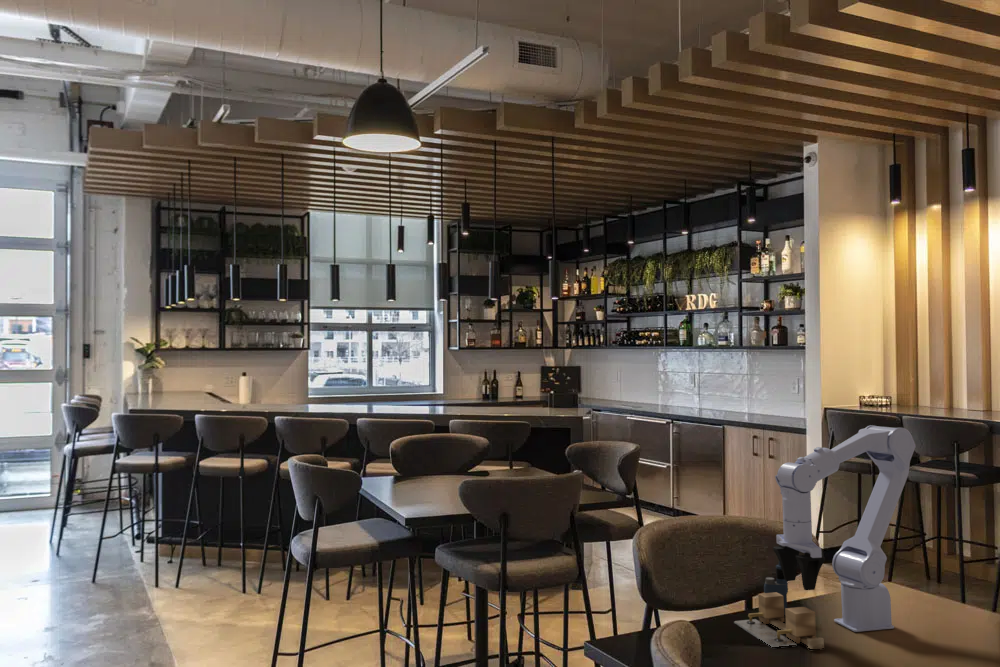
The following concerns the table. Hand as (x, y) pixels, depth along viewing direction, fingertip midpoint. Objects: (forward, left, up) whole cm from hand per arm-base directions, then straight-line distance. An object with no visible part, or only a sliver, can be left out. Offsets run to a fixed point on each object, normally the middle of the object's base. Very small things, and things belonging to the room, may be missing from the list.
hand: (799, 584), depth 175 cm
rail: (+2, -2, -10) cm, 11 cm away
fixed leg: (+3, -9, -10) cm, 14 cm away
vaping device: (-2, -14, -11) cm, 18 cm away
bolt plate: (+7, -3, -10) cm, 13 cm away
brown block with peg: (+3, +3, -10) cm, 11 cm away
